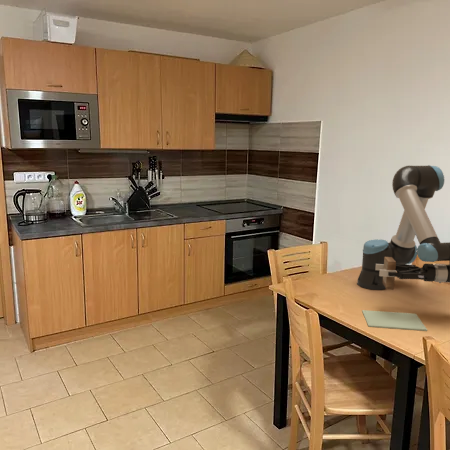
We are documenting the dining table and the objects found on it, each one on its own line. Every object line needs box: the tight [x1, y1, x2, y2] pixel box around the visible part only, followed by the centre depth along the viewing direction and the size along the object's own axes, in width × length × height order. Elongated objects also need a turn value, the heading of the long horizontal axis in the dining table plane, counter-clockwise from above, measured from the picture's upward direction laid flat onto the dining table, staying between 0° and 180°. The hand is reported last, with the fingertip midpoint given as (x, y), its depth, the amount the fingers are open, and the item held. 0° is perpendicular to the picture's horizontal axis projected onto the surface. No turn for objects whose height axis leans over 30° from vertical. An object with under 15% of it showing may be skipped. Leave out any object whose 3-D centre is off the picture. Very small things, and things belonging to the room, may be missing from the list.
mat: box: [361, 309, 428, 332], centre depth 174 cm, size 22×16×1 cm
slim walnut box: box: [382, 257, 396, 290], centre depth 182 cm, size 3×8×12 cm, turn 171°
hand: (377, 269), depth 182 cm, fingers closed on slim walnut box, 8 cm apart
